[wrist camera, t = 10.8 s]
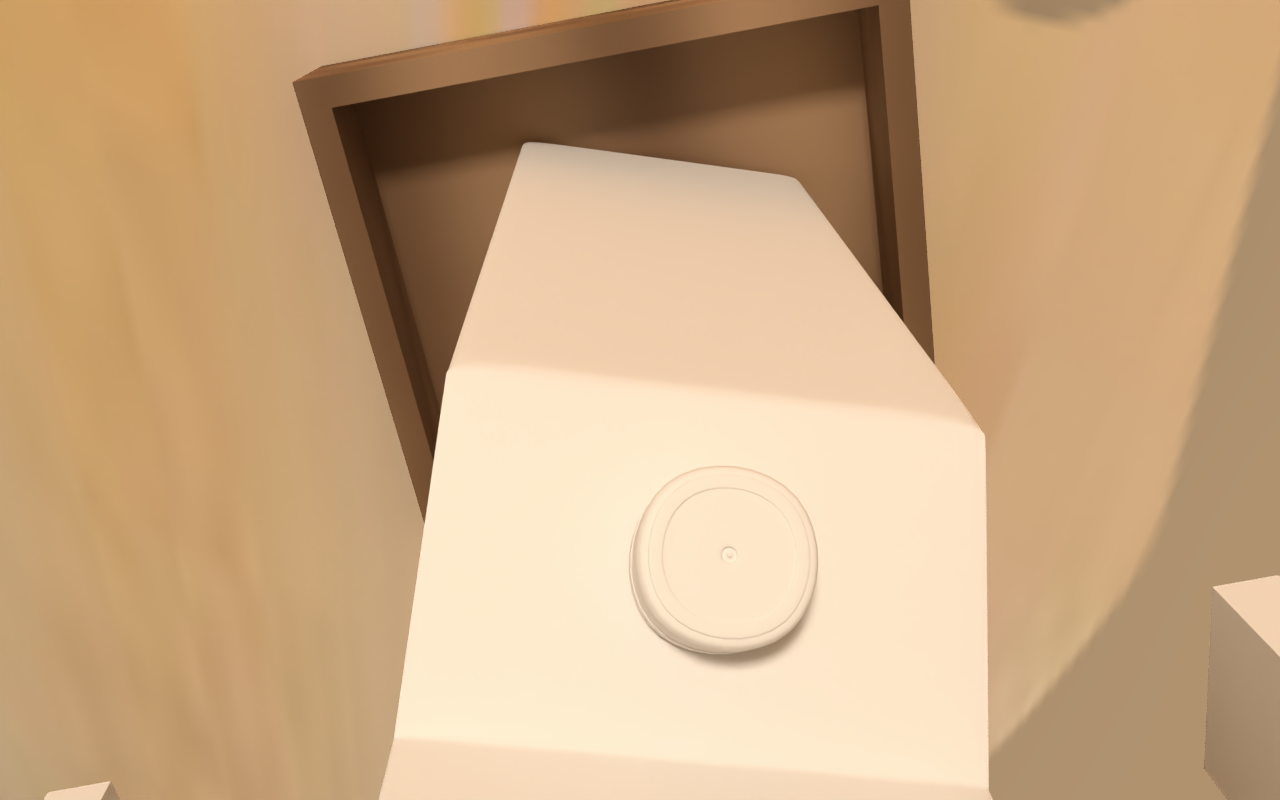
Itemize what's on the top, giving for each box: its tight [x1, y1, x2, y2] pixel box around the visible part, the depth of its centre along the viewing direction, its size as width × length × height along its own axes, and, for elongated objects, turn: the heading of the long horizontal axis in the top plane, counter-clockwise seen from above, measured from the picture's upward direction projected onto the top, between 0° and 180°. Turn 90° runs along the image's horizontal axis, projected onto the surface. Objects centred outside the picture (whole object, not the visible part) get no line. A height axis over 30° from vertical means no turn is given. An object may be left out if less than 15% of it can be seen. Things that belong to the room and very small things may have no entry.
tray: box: [293, 0, 935, 523], centre depth 28 cm, size 14×14×3 cm
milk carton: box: [379, 142, 993, 800], centre depth 21 cm, size 7×7×19 cm
